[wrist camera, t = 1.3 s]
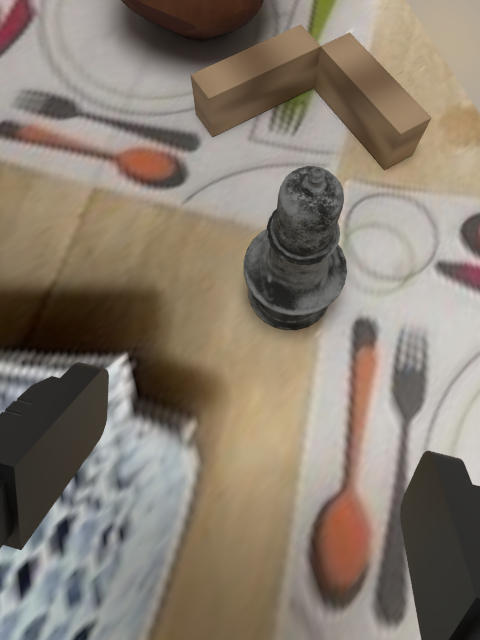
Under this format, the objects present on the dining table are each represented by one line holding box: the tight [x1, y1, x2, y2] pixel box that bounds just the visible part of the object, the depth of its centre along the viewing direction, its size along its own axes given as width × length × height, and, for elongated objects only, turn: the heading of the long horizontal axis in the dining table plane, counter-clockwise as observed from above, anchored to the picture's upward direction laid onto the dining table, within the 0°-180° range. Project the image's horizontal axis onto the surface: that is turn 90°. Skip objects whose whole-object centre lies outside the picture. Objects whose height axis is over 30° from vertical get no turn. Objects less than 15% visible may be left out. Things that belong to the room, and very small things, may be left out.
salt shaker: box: [244, 166, 347, 330], centre depth 23 cm, size 6×6×12 cm
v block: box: [191, 25, 431, 170], centre depth 32 cm, size 8×16×4 cm, turn 76°
